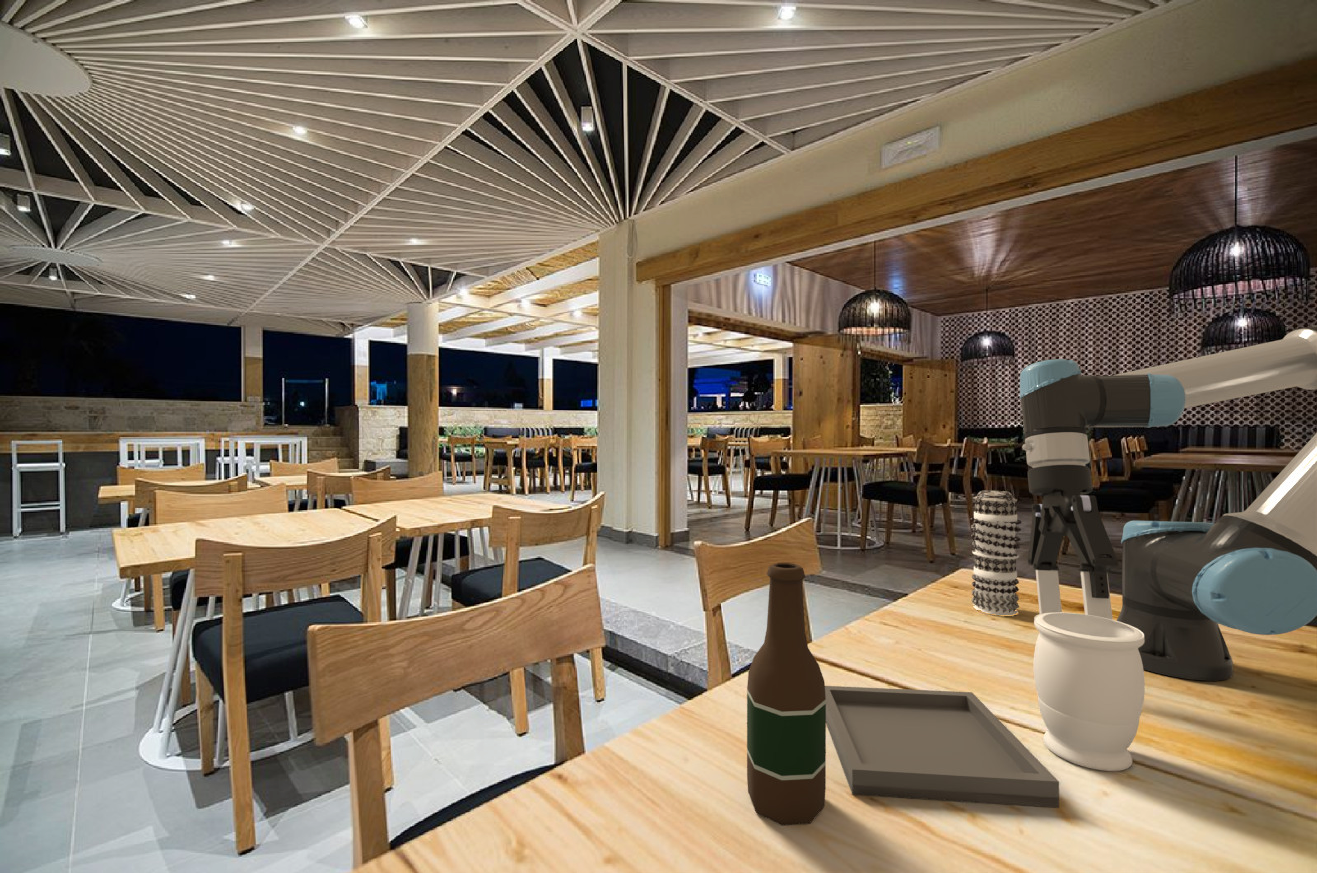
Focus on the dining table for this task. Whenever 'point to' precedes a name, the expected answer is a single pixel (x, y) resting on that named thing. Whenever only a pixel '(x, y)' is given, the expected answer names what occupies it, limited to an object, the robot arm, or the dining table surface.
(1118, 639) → the jar
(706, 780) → the dining table surface
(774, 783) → the beer bottle
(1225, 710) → the dining table surface
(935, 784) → the tray
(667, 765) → the dining table surface
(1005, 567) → the decorative candle
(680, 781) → the dining table surface
